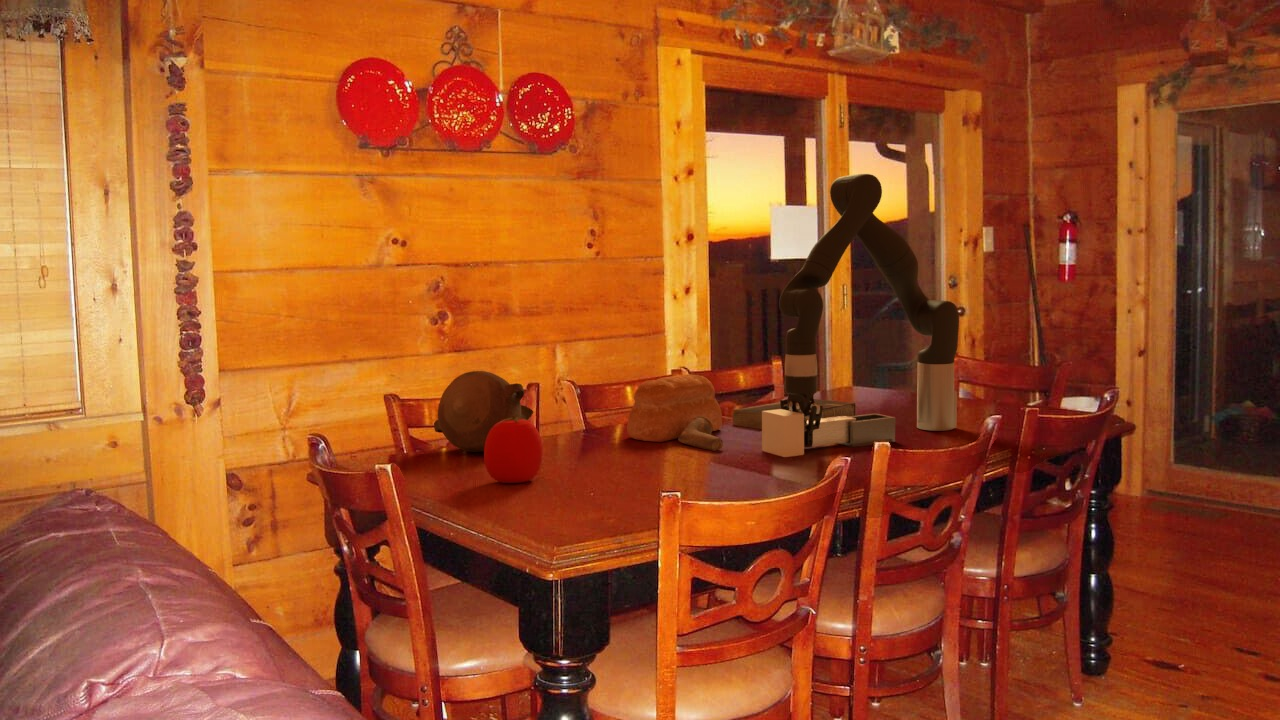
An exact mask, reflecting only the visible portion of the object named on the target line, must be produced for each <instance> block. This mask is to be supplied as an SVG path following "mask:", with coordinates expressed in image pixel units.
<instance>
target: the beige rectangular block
mask: <svg viewBox="0 0 1280 720" xmlns="http://www.w3.org/2000/svg"><path fill="white" fill-rule="evenodd" d="M853 421H856V418H852V417H847V416H839V417H830V418H821V420H820V426H819V429H815V430H814V431H813V444H812V446H811V447H810V448H812V447H819V446H827V445H834V444H836V445H837V444H838V443H844V442H850V422H853ZM806 422H807V426H808V421H806ZM813 423H814V424H815V421H814V422H813ZM805 448H806V447H804V449H805Z"/></svg>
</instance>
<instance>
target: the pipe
mask: <svg viewBox="0 0 1280 720" xmlns="http://www.w3.org/2000/svg"><path fill="white" fill-rule="evenodd" d="M713 432H714V431H713V427H712V424H711V422H710V421H709V420H708V419H707V418H705V417H702V416H699V417H696V418H694V419H693V421H692V422H691V423H690V424H689V425H688V426H687V427H686V428H685V429H684V431H683V432H682V434H681V435H680V436H679V438H677V439H678V442H680V443H682V444H685V445H687V446H691V447H694V448H699V449H704V450H708V451H712V452H716V450H718V451H720V450H721V449H722V448H723V446H724V441H723V439H722V438H720V437H717V436H714V435H713V434H712V433H713Z"/></svg>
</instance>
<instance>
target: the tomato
mask: <svg viewBox="0 0 1280 720" xmlns="http://www.w3.org/2000/svg"><path fill="white" fill-rule="evenodd" d="M529 420H532V419H531V418H529V419H528V420H525V419H524V418H519V417H516V418H515V415H513V418H506V419H505V420H504V419H503V420H502V421H500V422H498V423H497V424H495V425H494V426H493V427H492V428H491V430H490V432H489V433H488V435H487V438H486V441H485V447H484V452H483V459H484V465H485V468H486V470H487V473H488V474H489V475H490V477H491V479H493V480H495V481H496V482H500V483H503V484H521V483H527V482H529V481H531V480H533V479H534V478H535V476H536V475H537V474H538V473H539V471H540V469H541V468H540V467H541V466H542V465H541V464H542V460H543V454H544V451H543V450H544V446H543V439H542V438H541V435H540V433H539V430H538V429H537V427H536V425H535V424H533V423H532V422H531V421H529Z"/></svg>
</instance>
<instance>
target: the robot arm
mask: <svg viewBox="0 0 1280 720" xmlns="http://www.w3.org/2000/svg"><path fill="white" fill-rule="evenodd" d="M882 188H883V187H882V184H881V182H880V180H879V179H878V177H876V175H874V174H870V173H860V174H859V173H858V174H850V175H848V174H847V175H844V176H840V177H837V178H836V179H835V180H834V181H833V182H832V183H831V185H830V190H829V194H830V195H829V196H830V199H831V202H832V205H833V207H834V209H835V210H836V212H837V213H838V214H839V215H840V218H838V220H837V221H836V222H835V223H834V225H832V227H830V229H828V230H827V231H826V233H824V234H823V235H822V236H821V237H820V238H819V239H818V240H817V242H816V243H815V244H814V245H813V247H812V248H811V250H810V252H809V254H808V255H807V258H806V260H805V262H804V263H803V266H802V267H801V269H800V270H799V271H798V272H797V273H796V274H795V275H794V276H793V277H792V278H791V280H789V282H788V283H787V285H785V287H784V288H783V290H782V291H781V293H780V296H779V301H778V306H779V307H778V308H779V310H780V312H781V313H782V315H783V316H785V317H788V318H793V319H794V318H795V319H798V320H797V324H796V326H795V328H790V329H789V330H787V332H786V334H785V357H784V358H785V359H784V393H786V394H787V395H788V396H787V398H783V399H780V401H779V402H780V404H781V409H783V410H788V411H793V412H797V413H802V414H804V447H805V448H812V447H811V446H812V444H813V431H814V430H815V429H819V426H820V420H821V415H822V410H823V406H822V405H816V404H815V401H814V399H815V398H814V396H815V394H816V393H818V360H817V333H818V332H819V327H820V323H821V319H822V315H823V311H824V302H823V298H822V295H821V294H820V292H819V291H818V290H817V289H818V288H819V289H820V288H823V287H825V286H826V285H828V283H829V282H830V280H831V278H832V276H833V274H834V273H835V270H836V269H837V266H838V265H839V262H840V261H841V259H842V257H843V256H844V254H845V252H846V250H847V249H848V247H849V246H850V244H851V243H852V241H853V240H854V239H855V237H856V236H857V238H858V239H859V241H860V242H861V243H862V245H863V247H864V248H865V249H866V251H867V252H868V254H869V255H870V256H871V258H872V260H873V262H874V263H875V265H876V266H877V268H878V270H879V271H880V274H882V276H883V277H884V279H885V280H886V281H887V283H888V285H889V286H890V288H891V289H892V291H893V293H894V294H895V296H896V297H897V299H898V301H899V302H900V304H901V306H902V308H903V310H904V312H905V315H906V317H907V319H908V321H909V323H910V324H911V326H912V328H913V329H914V330H915V331H916V332H917V333H918V334H920V335H922V336H928V337H930V336H931V341H930V344H929V345H928V346H927V347H926V348H924V349H921V350H919V351H918V352H917V365H916V366H917V368H916V369H917V371H916V373H917V377H916V379H917V380H916V385H917V386H916V388H917V391H916V428H917V429H919V430H924V431H935V432H937V431H938V432H939V431H941V432H942V431H943V432H944V431H950V430H953V429H956V428H957V419H958V418H957V417H958V416H957V415H958V414H957V413H958V412H957V409H958V403H957V402H958V392H957V391H956V390H955V358H956V354H957V351H958V345H959V329H960V328H959V327H960V314H959V310H958V307H957V306H956V304H955V303H954V302H953V301H948V300H940V299H939V300H936V299H935V300H934V299H930V298H928V297H927V295H926V294H925V292H923V290H922V289H921V287H920V285H919V282H918V277H919V262H918V258H917V256H916V254H915V252H914V251H913V250H912V248H911V247H910V245H909V243H908V241H907V240H906V239H905V238H904V237H903V236H902V235H901V234H900V233H899V232H898V231H896V230H895V229H893V228H892V227H891V226H889V225H888V224H886V223H885V222H884V221H882V220H881V219H879V218H878V217H877V216H876V214H874V212H875V210H876V209H877V207H878V206H879V205H880V202H881V200H882V196H883V195H882V193H883V189H882ZM807 416H809V417H808V418H805V417H807ZM806 421H808V426H807V422H806ZM814 421H815V424H814V423H813V422H814Z"/></svg>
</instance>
